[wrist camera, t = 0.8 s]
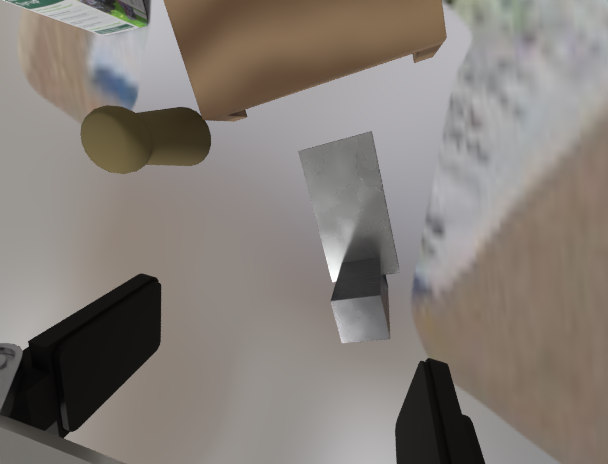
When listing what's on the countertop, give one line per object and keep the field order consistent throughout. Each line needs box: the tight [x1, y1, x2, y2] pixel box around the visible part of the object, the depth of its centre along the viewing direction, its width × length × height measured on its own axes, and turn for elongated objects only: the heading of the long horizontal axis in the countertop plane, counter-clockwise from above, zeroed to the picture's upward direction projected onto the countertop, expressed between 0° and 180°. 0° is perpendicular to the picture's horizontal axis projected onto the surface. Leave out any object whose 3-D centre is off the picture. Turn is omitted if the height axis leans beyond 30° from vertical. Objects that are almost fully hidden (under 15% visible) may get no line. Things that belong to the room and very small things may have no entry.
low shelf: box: [164, 0, 446, 121], centre depth 25 cm, size 12×19×6 cm, turn 106°
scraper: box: [298, 132, 400, 343], centre depth 28 cm, size 16×7×9 cm, turn 16°
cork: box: [81, 105, 211, 174], centre depth 28 cm, size 6×6×11 cm
